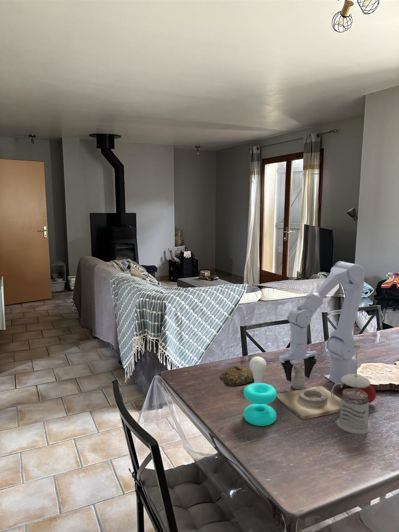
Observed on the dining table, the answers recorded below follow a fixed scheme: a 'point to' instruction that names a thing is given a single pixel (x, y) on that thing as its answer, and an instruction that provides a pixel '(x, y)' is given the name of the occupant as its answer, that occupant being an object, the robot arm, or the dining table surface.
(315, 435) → the dining table surface
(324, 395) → the ring board
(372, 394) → the pomegranate
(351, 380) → the french press
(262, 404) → the donuts
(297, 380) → the rook chess piece
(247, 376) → the bread roll
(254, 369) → the lightbulb
